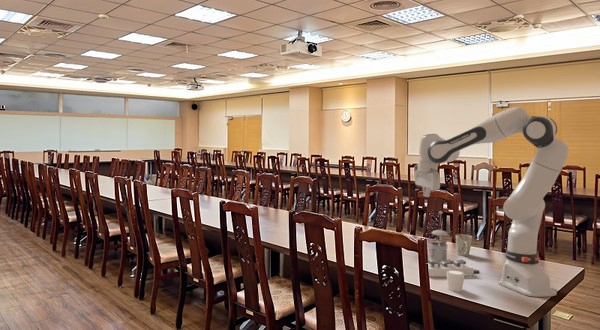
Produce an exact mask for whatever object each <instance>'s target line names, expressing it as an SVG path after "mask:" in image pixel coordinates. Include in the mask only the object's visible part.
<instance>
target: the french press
mask: <svg viewBox="0 0 600 330" xmlns="http://www.w3.org/2000/svg"><path fill="white" fill-rule="evenodd" d="M438 214H440V218H439V219H440V220H439V225H441V221H442V220H441V219H442V214H444V212H443V211H441V210H440V211H439V212H438ZM431 234H432V235H434V236H437V238H435V239H432V240H431V241H432V242H431V243H430V255H429V256H430V257H428V260H431V261H435V262H438V263H440V262H442V261H446V260H448V244H447V243H448V242H447V240H444V239H441V237H448V236H449V233H448V232H446V231H444V230H442V229H436V230H433V231H431Z"/></svg>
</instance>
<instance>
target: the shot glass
mask: <svg viewBox="0 0 600 330" xmlns="http://www.w3.org/2000/svg"><path fill="white" fill-rule="evenodd" d="M464 275H465V273H464V272H461V271H457V270H448V271H447V276H446V286H447V290H449V291H452V292H458V293H459V292H462V291H463V286H464V278H465V276H464Z"/></svg>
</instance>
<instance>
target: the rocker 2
mask: <svg viewBox="0 0 600 330" xmlns="http://www.w3.org/2000/svg"><path fill="white" fill-rule="evenodd" d="M453 264H454V265H455V266H460V264H467V261H465V260H463V259H459V260H455V261H453Z"/></svg>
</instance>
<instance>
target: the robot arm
mask: <svg viewBox="0 0 600 330" xmlns="http://www.w3.org/2000/svg"><path fill="white" fill-rule="evenodd" d="M557 132H558V125H557V123H556V121H554V119H553V118H550V117H549V116H545V115H538V116H537V115H536V116H530V115H529V114H528V112H527V111H526V110H525V109H524V108H523V107H521V106H515V107H511V108H507V109H505V110H503V111H500V112H498V113H496V114H494V115H491V116H489V117H488V118H486V119H483V121H481V122H480V123H478V124H476V125H475V126H473V127H472V128H470V129H468V130H467V131H464V132H462V133H460V134H458V135H455V136H453V137H451V138H448V139H445V138H443V137H441V136H439V134H437V133H429V134H424V135H423V136H421V138H420V143H419V148H418V149H419V150H418V151H419V152H418V153H419V159H418V163H417V164H415V165H414V167H413V168H414V184H415V186H419V187H422V192H423V197H425V198H430V194H431V192H432V190H440V188H441V175H440V173H439V171H438V170H439V169H438V168H439V167H438V165H439V164H443V163H451V162H454V161H456V160H457V159H458V158H459V156H460V151H461V150H463V149H466V148H468V147H470V146H473V145H479V144H480V145H481V144H490V143H496V142H499V141H501V140H505V139H507V138H509V137H511V136H513V135H516V134H520V133H521V134H522V135H523V137H524V138H525V139H526V140H527V141H528V142H529V143H531V144H532V145H533V146H534V147H535V148H536V152H535V155H534V156H533V158H532V160H531V162H530V164H529V166H528V168H527V170H526V172H525V174H524V176H523V177H522V179H521V180H520V181H519V183H518V184H517V185H516V187H515V188H514V189H513V190H512V192H511V194H510V195H509V197H508V198H507V199H506V200H505V201H504V203H503V205H502V206H503V207H502V208H503V209H502V210H503V213H504V214H505V216H506V217H507V218H509V219H511V220H512V222H511V225H510V227H509V230H508V237H507V248H506V250H505V262H504V264H503V266H502V271H501V272H502V273H501V279H500V280H499V281H498V284H499V285H500V286H503V287H505V288H508V289H510V290H513V291H515V292H517V293H519V294H522V295H525V296H529V297H535V298H536V297H538V298H541V297H542V298H543V297H547V298H548V297H554V296H557V291H555V290H554V289H553V288H551V280H550V277H549V275H548V274H547V273H546V272H545V271H544V269H543V267H542V266H541V265H540V260H541V257H539V256H538V252H537V248H538V235H539V231H540V226H541V224H542V218H543V214H544V210H545V208H546V202H545V200H544V198H545V196H546V195H547V194H548V192H549V191H550V190H551V189H552V188H553V186H554V184H555V182H556V181H557V179H558V177H559V175H560V173H561V171H562V169H563V167H564V165H565V163H566V160H567V157H568V154H569V152H570V151H569V146H568V144H567V143H565V142H564V141H563V140H560V139H558V138H557V137H556V135H557Z"/></svg>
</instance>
